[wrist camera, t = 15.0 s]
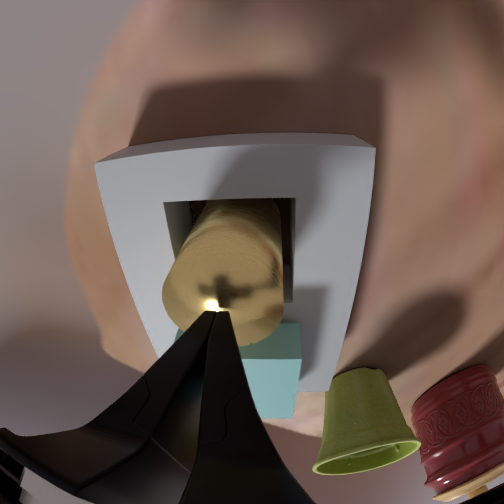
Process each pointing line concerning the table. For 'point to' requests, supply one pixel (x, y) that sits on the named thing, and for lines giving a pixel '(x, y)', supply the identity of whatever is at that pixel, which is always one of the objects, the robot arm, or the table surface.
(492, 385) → the canister
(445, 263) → the table surface
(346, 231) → the jig
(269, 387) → the teal block
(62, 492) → the robot arm
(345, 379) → the plant pot
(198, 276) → the brass cylinder
